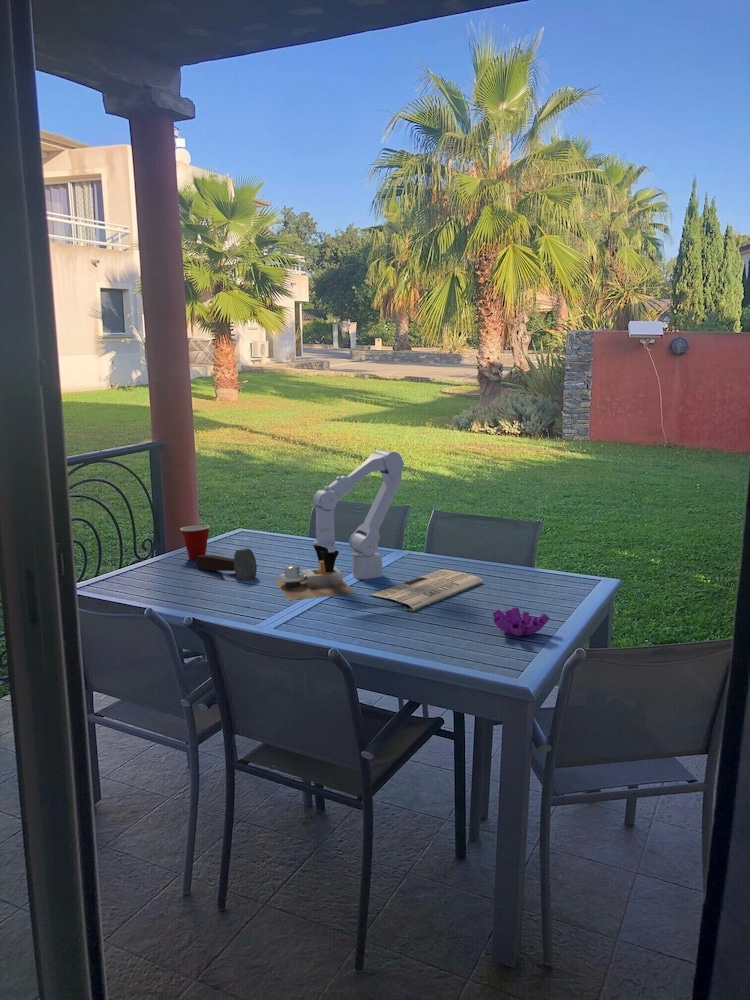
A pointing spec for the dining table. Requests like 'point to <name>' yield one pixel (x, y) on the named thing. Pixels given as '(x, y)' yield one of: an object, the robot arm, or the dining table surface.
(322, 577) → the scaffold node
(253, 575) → the hammer
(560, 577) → the dining table surface
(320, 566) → the tan rectangular prism
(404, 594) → the newspaper
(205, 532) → the plastic cup
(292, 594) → the board
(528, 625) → the purple coral
